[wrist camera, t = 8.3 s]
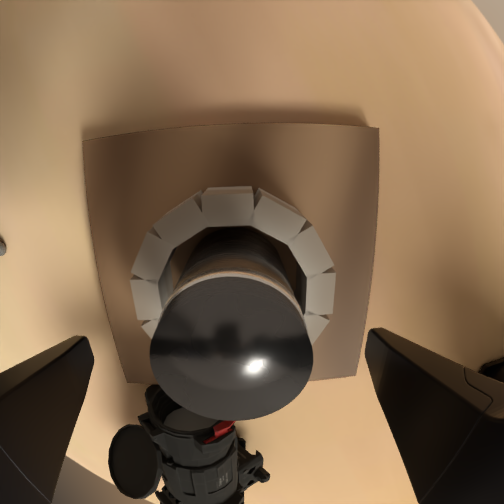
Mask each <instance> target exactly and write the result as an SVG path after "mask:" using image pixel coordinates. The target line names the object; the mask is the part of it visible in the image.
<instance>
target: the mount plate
mask: <svg viewBox="0 0 504 504" xmlns="http://www.w3.org/2000/svg"><path fill="white" fill-rule="evenodd" d="M83 155H84V170H85V182H86V193H87V202H88V211H89V218H90V226H91V233H92V239H93V245H94V251H95V257H96V263H97V268H98V273H99V278H100V283H101V288H102V292H103V297H104V301H105V306H106V310H107V314H108V318H109V322H110V326H111V330H112V333H113V337H114V341H115V344H116V348H117V351H118V354H119V358H120V361H121V364H122V368H123V371H124V374H125V377H126V380H127V383H140V384H156V385H159V384H158V382H157V380H156V378H155V376H154V374H153V371H152V368H151V364H150V344H151V340H152V337H153V335H154V332H155V330H156V328H157V325H158V320H159V318H160V315H161V312H162V310H163V308H164V306H165V304H166V302H167V300H168V299H169V297H170V296H171V294H172V292H173V290H174V288H175V286H176V284H177V282H178V280H179V278H180V275H181V273H182V271H183V269H184V267H185V265H186V263H187V261H188V259H189V257H190V255H191V253H192V251H193V249H194V248H195V246H196V245H197V244H198V243H199V242H200V241H201V240H202V239H203V238H204V237H206V236H207V235H208V234H210V233H212V232H214V231H217V230H219V229H223V228H230V227H240V228H246V229H250V230H253V231H255V232H257V233H259V234H261V235H263V236H264V237H265V238H267V239H268V240H269V241H270V242H271V243H272V244H273V245H274V247H275V248H276V249H277V251H278V253H279V255H280V258H281V260H282V263H283V266H284V268H285V271H286V274H287V277H288V280H289V282H290V285H291V288H292V291H293V293H294V296H295V299H296V301H297V302H298V304H299V306H300V308H301V311H302V314H303V317H304V319H305V322H306V325H307V331H308V336H309V339H310V342H311V345H312V349H313V367H312V372H311V375H310V378H309V380H308V381H316V380H325V379H333V378H341V377H349V376H356V372H357V367H358V362H359V357H360V352H361V347H362V341H363V335H364V329H365V323H366V317H367V310H368V303H369V296H370V288H371V280H372V272H373V262H374V252H375V241H376V228H377V213H378V193H379V128H373V127H362V126H349V125H333V124H310V123H243V124H219V125H203V126H190V127H179V128H169V129H159V130H151V131H143V132H135V133H128V134H121V135H115V136H109V137H103V138H97V139H92V140H86V141H83Z"/></svg>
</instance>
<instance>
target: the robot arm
mask: <svg viewBox="0 0 504 504" xmlns="http://www.w3.org/2000/svg"><path fill="white" fill-rule="evenodd" d="M365 358H366V361H367V364H368V368H369V371H370V375H371V378H372V382H373V385H374V389H375V392H376V395H377V398H378V400H379V403H380V405H381V407H382V410H383V412H384V415H385V417H386V419H387V422H388V424H389V427H390V429H391V432H392V434H393V437H394V439H395V442H396V444H397V447H398V450H399V452H400V455H401V457H402V460H403V463H404V465H405V468H406V471H407V473H408V476H409V479H410V481H411V484H412V487H413V490H414V493H415V495H416V498H417V501H418V503H419V504H504V358H502V359H499V360H497V361H494V362H491V363H488V364H485V365H484V366H483V367H482V368H481V370H480V372H479V373H477V372H475V371H473V370H471V369H469V368H466V367H464V368H463V366H462V365H460V364H458V363H456V362H454V361H451V360H449V359H447V358H445V357H443V356H441V355H439V354H437V353H434V352H432V351H430V350H428V349H426V348H424V347H422V346H420V345H418V344H415V343H413V342H411V341H409V340H407V339H405V338H403V337H401V336H399V335H397V334H394V333H392V332H390V331H388V330H386V329H384V328H373V329H370V330H369V332H368V337H367V342H366V348H365ZM93 365H94V356H93V353H92V350H91V347H90V343H89V340H88V338H87V337H85V336H77V335H76V336H73V337H71V338H69V339H67V340H65V341H63V342H61V343H59V344H57V345H55V346H53V347H51V348H49V349H47V350H45V351H43V352H41V353H39V354H37V355H35V356H33V357H31V358H29V359H27V360H25V361H23V362H21V363H19V364H17V365H15V366H13V367H11V368H9V369H7V370H6V371H4V372H2V373H0V504H51V503H52V499H53V496H54V492H55V488H56V485H57V481H58V477H59V474H60V471H61V467H62V464H63V461H64V457H65V454H66V451H67V448H68V445H69V442H70V439H71V436H72V433H73V430H74V427H75V424H76V421H77V419H78V416H79V413H80V410H81V408H82V405H83V402H84V399H85V395H86V392H87V388H88V384H89V380H90V376H91V373H92V369H93Z"/></svg>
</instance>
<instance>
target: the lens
mask: <svg viewBox="0 0 504 504" xmlns="http://www.w3.org/2000/svg"><path fill="white" fill-rule="evenodd" d="M150 364H151V368H152V371H153V374H154V376H155V378H156V380H157V382H158V384H159V385H160V387H161V388H162V389H163V391H164V392H165V393H166V394H167V395H168V396H169V397H170V398H171V399H173V400H174V401H175V402H176V403H178V404H179V405H181V406H182V407H184V408H186V409H187V410H189V411H191V412H194V413H196V414H198V415H201V416H205V417H208V418H212V419H217V420H226V421H241V420H249V419H255V418H259V417H263V416H266V415H268V414H271V413H273V412H275V411H277V410H279V409H281V408H283V407H284V406H286V405H287V404H289V403H290V402H291V401H292V400H294V399H295V398H296V397H297V396H298V395H299V394H300V392H301V391H302V390H303V388H304V387H305V385H306V384H307V382H308V380H309V378H310V375H311V372H312V367H313V349H312V345H311V342H310V339H309V336H308V331H307V325H306V322H305V319H304V317H303V314H302V311H301V308H300V306H299V304H298V302H297V301H296V299H295V296H294V293H293V291H292V288H291V285H290V282H289V280H288V277H287V274H286V271H285V268H284V266H283V263H282V260H281V258H280V255H279V253H278V251H277V249H276V248H275V247H274V245H273V244H272V243H271V242H270V241H269V240H268V239H267V238H265V237H264V236H263V235H261V234H259V233H257V232H255V231H253V230H250V229H246V228H240V227H230V228H223V229H219V230H217V231H214V232H212V233H210V234H208V235H207V236H206V237H204V238H203V239H202V240H201V241H200V242H199V243H198V244H197V245H196V246H195V248H194V249H193V251H192V253H191V255H190V257H189V259H188V261H187V263H186V265H185V267H184V269H183V271H182V273H181V275H180V278H179V280H178V282H177V284H176V286H175V288H174V290H173V292H172V294H171V296H170V297H169V299H168V300H167V302H166V304H165V306H164V308H163V310H162V312H161V315H160V318H159V320H158V325H157V328H156V330H155V332H154V335H153V337H152V340H151V344H150Z"/></svg>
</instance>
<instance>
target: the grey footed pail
mask: <svg viewBox="0 0 504 504" xmlns="http://www.w3.org/2000/svg"><path fill="white" fill-rule="evenodd" d="M5 253H6V246H5V244H3V243H2V242H1V241H0V256H3V255H4V254H5Z"/></svg>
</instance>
